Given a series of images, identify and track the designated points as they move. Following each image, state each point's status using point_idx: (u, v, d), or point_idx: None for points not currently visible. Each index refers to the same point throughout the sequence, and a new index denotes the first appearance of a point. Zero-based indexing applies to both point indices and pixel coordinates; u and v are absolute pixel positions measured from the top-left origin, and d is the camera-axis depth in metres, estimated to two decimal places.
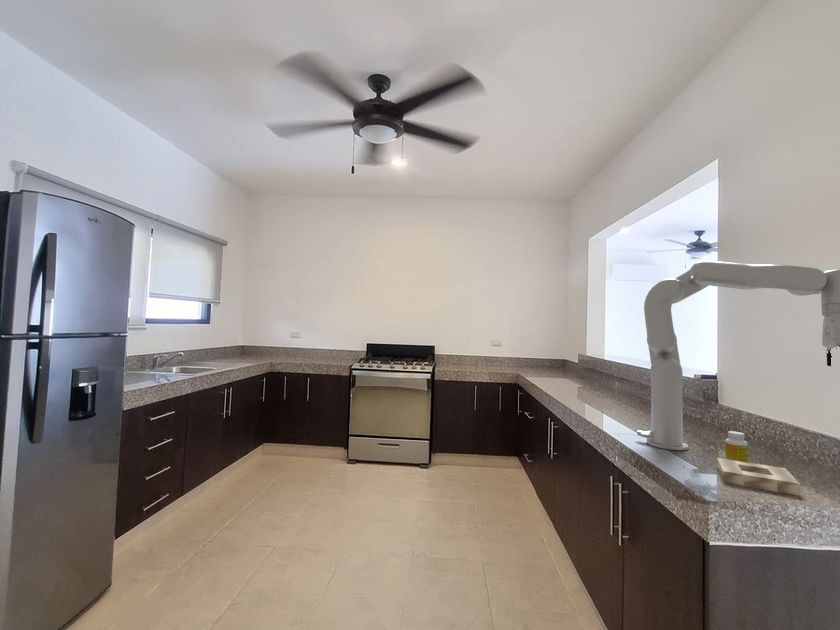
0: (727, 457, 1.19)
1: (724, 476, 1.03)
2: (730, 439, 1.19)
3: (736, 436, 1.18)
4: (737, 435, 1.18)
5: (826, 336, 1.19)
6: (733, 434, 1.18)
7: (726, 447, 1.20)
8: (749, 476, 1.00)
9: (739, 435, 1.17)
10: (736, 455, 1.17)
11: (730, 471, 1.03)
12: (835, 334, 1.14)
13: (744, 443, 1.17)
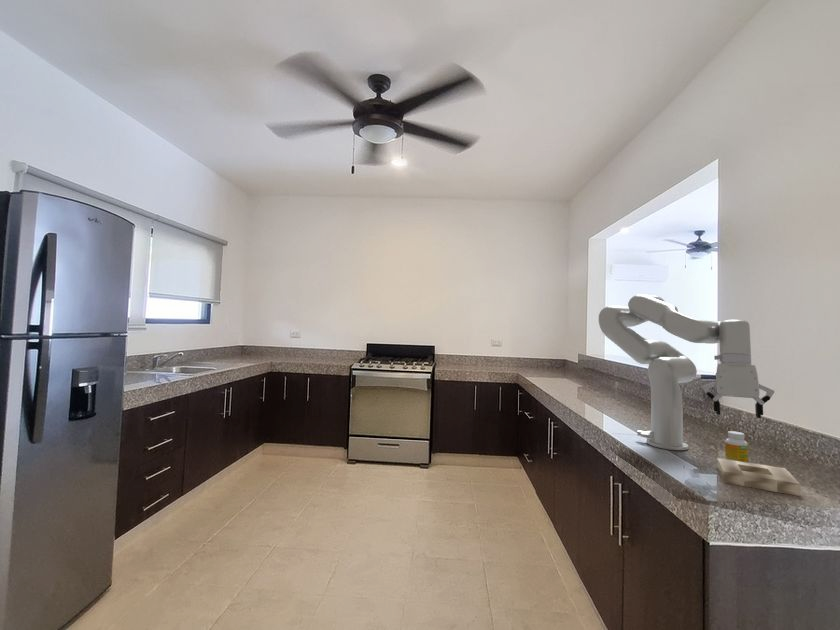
0: (727, 457, 1.19)
1: (724, 476, 1.03)
2: (730, 439, 1.19)
3: (736, 436, 1.18)
4: (737, 435, 1.18)
5: (734, 386, 1.18)
6: (733, 434, 1.18)
7: (726, 447, 1.20)
8: (749, 476, 1.00)
9: (739, 435, 1.17)
10: (736, 455, 1.17)
11: (730, 471, 1.03)
12: (757, 385, 1.15)
13: (744, 443, 1.17)
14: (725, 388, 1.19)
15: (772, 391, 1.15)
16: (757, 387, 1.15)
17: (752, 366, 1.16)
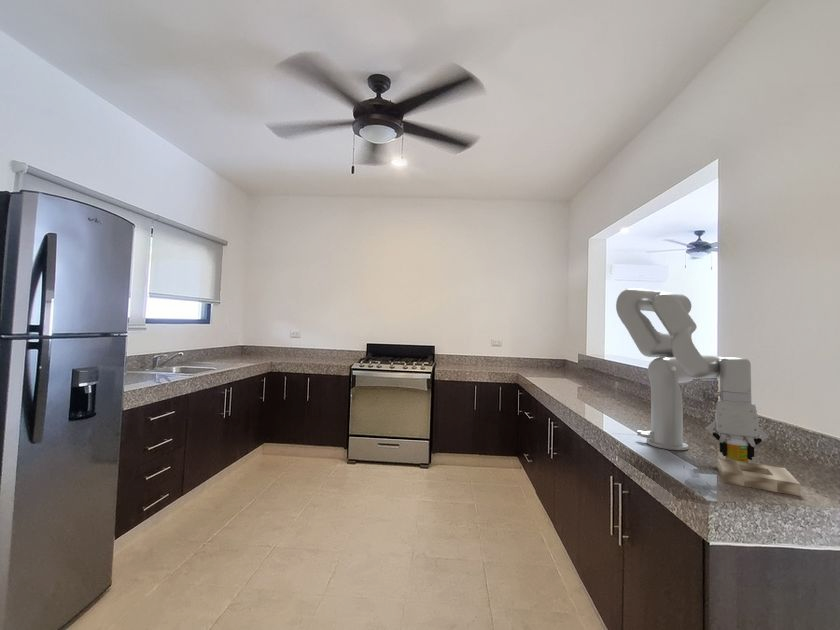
0: (727, 457, 1.19)
1: (724, 476, 1.03)
2: (730, 439, 1.19)
3: (736, 436, 1.18)
4: None
5: (733, 424, 1.18)
6: None
7: (726, 447, 1.20)
8: (749, 476, 1.00)
9: None
10: (736, 455, 1.17)
11: (730, 471, 1.03)
12: (757, 425, 1.15)
13: (744, 443, 1.17)
14: (724, 426, 1.19)
15: (767, 436, 1.15)
16: (757, 427, 1.15)
17: (752, 405, 1.16)
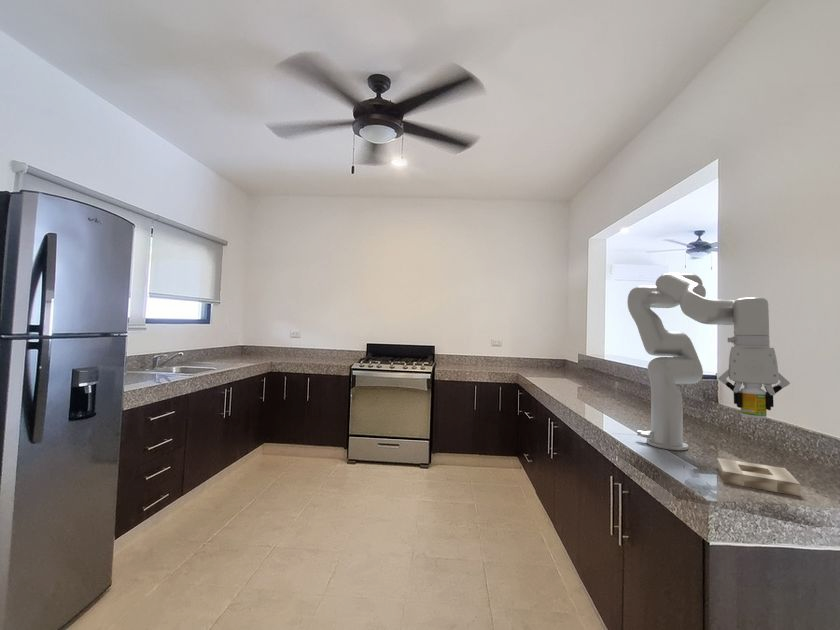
0: (743, 408, 1.07)
1: (724, 476, 1.03)
2: (746, 388, 1.07)
3: (753, 384, 1.05)
4: None
5: (750, 371, 1.05)
6: None
7: (741, 397, 1.07)
8: (749, 476, 1.00)
9: None
10: (753, 405, 1.05)
11: (730, 471, 1.03)
12: (777, 370, 1.03)
13: (762, 391, 1.04)
14: (740, 374, 1.06)
15: (787, 382, 1.03)
16: (776, 372, 1.03)
17: (771, 349, 1.04)
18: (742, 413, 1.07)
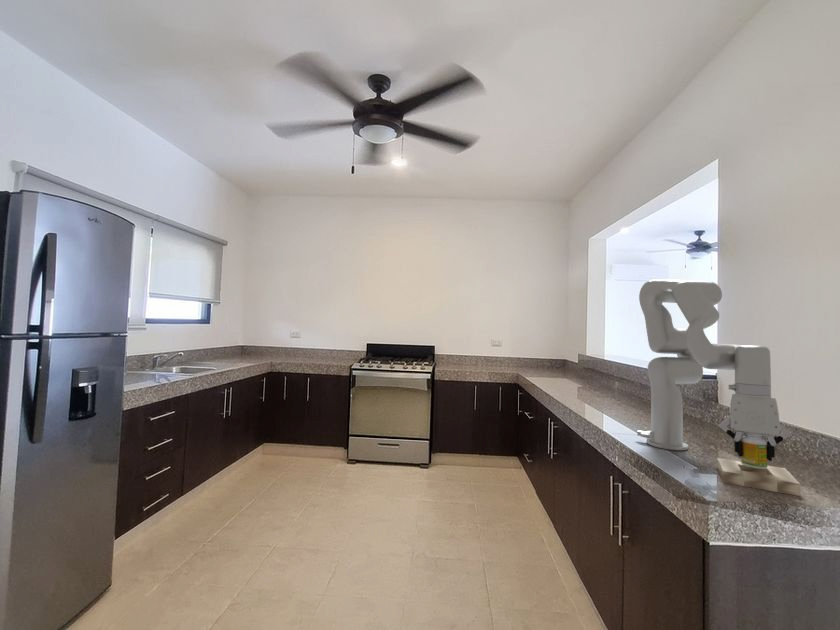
0: (743, 457, 1.06)
1: (724, 476, 1.03)
2: (747, 437, 1.06)
3: (754, 434, 1.04)
4: None
5: (751, 421, 1.04)
6: None
7: (742, 446, 1.06)
8: (749, 476, 1.00)
9: None
10: (753, 455, 1.04)
11: (730, 471, 1.03)
12: (778, 421, 1.02)
13: (763, 441, 1.03)
14: (740, 423, 1.05)
15: (789, 434, 1.02)
16: (777, 423, 1.01)
17: (772, 399, 1.03)
18: (743, 462, 1.06)
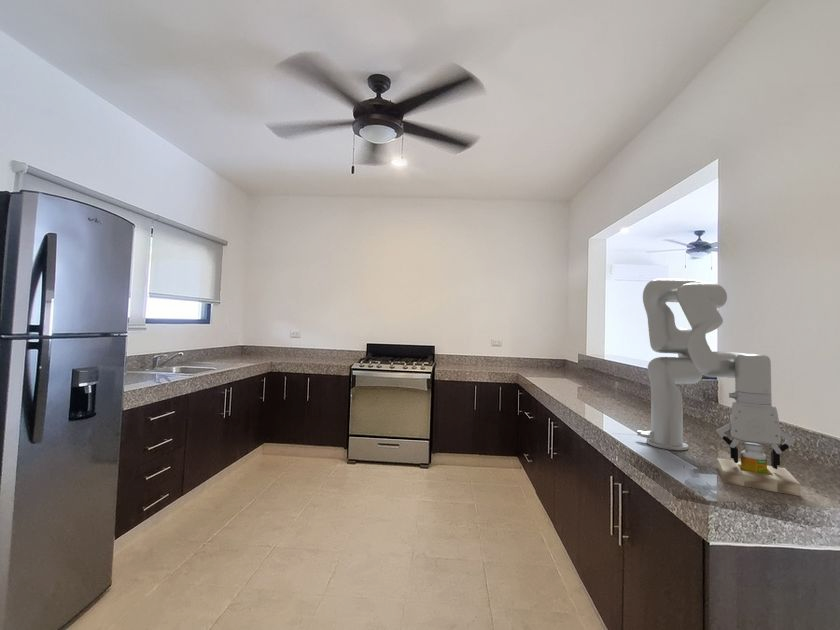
0: None
1: (724, 476, 1.03)
2: (746, 452, 1.06)
3: (753, 448, 1.04)
4: (755, 447, 1.04)
5: (751, 429, 1.04)
6: (750, 446, 1.05)
7: (742, 460, 1.06)
8: (749, 476, 1.00)
9: (757, 447, 1.04)
10: (753, 470, 1.03)
11: (730, 471, 1.03)
12: (778, 430, 1.01)
13: (763, 456, 1.03)
14: (741, 431, 1.05)
15: (793, 440, 1.01)
16: (778, 432, 1.01)
17: (773, 408, 1.02)
18: None
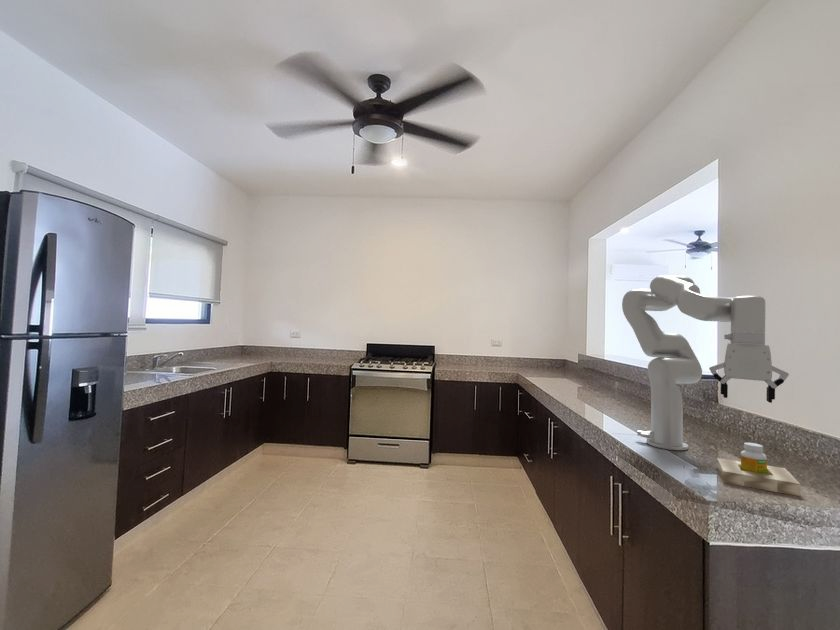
0: None
1: (724, 476, 1.03)
2: (746, 452, 1.05)
3: (753, 448, 1.04)
4: (755, 447, 1.04)
5: (744, 367, 1.09)
6: (750, 446, 1.05)
7: (742, 461, 1.06)
8: (749, 476, 1.00)
9: (757, 447, 1.04)
10: (753, 470, 1.03)
11: (730, 471, 1.03)
12: (770, 367, 1.06)
13: (763, 456, 1.03)
14: (734, 370, 1.10)
15: (786, 374, 1.05)
16: (770, 369, 1.06)
17: (766, 346, 1.07)
18: None
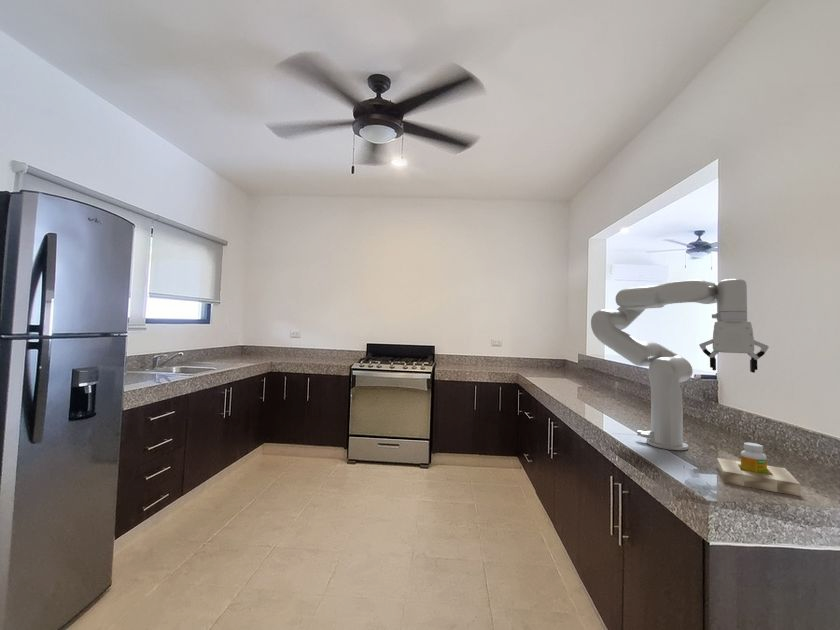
0: None
1: (724, 476, 1.03)
2: (746, 452, 1.06)
3: (753, 448, 1.04)
4: (755, 447, 1.04)
5: (730, 342, 1.22)
6: (750, 446, 1.05)
7: (742, 461, 1.06)
8: (749, 476, 1.00)
9: (757, 447, 1.04)
10: (753, 470, 1.03)
11: (730, 471, 1.03)
12: (752, 340, 1.20)
13: (763, 456, 1.03)
14: (721, 344, 1.24)
15: (766, 346, 1.19)
16: (752, 343, 1.20)
17: (748, 323, 1.21)
18: None
